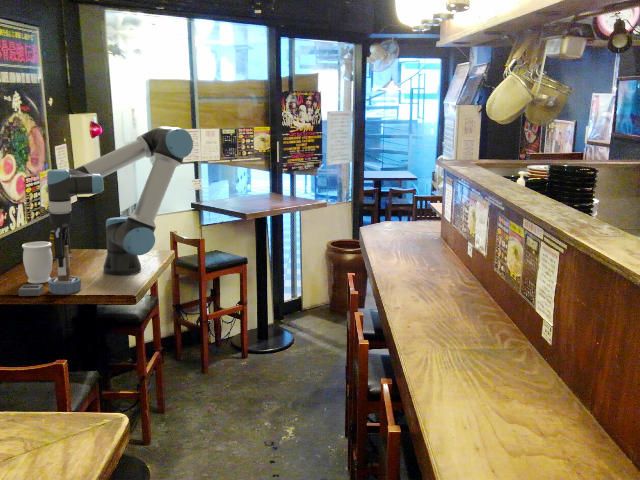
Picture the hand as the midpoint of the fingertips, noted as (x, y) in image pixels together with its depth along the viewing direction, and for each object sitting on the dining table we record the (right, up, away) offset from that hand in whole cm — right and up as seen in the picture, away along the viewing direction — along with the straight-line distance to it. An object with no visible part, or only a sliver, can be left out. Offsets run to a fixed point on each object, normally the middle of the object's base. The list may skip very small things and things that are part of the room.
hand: (64, 272), depth 226 cm
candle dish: (0, -7, +1) cm, 7 cm away
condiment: (-22, +4, +48) cm, 53 cm away
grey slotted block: (-11, -7, -4) cm, 13 cm away
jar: (-15, -4, +12) cm, 19 cm away
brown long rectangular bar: (0, -6, +1) cm, 6 cm away
